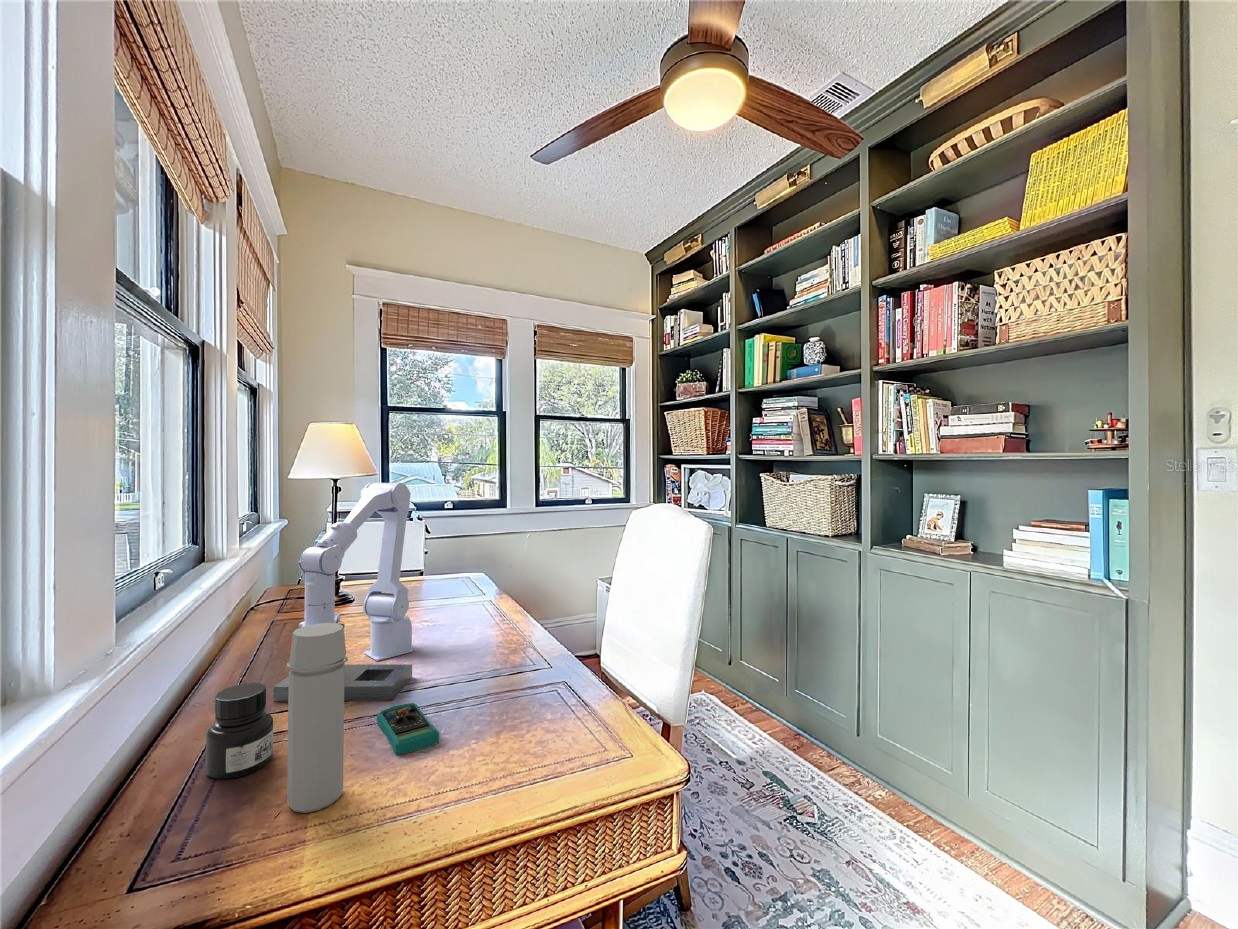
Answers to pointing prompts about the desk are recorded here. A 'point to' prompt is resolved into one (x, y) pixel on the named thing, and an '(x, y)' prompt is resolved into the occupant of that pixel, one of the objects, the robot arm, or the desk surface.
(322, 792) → the water bottle
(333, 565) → the robot arm
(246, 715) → the ink bottle
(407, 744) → the digital multimeter
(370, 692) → the jack panel
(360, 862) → the desk surface
